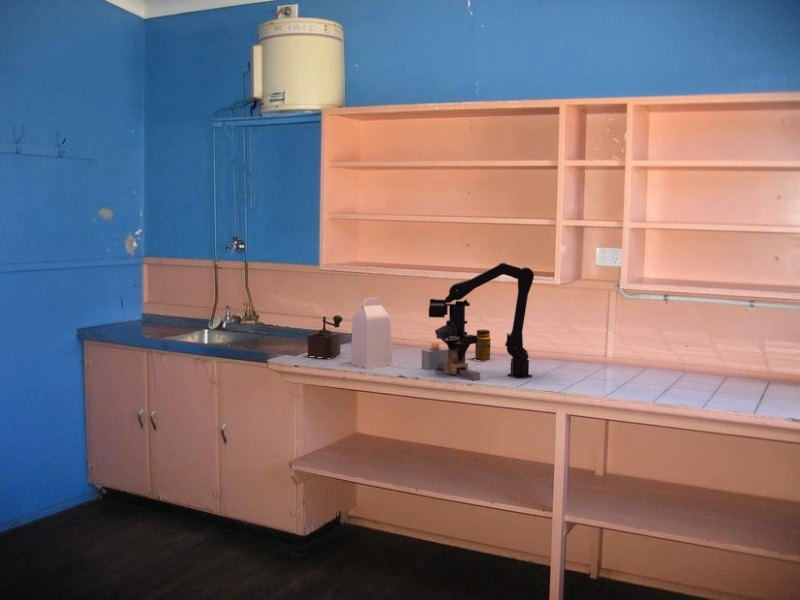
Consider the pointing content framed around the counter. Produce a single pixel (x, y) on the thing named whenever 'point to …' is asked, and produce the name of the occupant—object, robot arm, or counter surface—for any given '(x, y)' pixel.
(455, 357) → the carriage
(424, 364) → the grey peg holder
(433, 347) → the brown rounded piece
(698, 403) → the counter surface
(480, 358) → the condiment
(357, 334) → the milk
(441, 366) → the rail
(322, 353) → the manual coffee grinder
